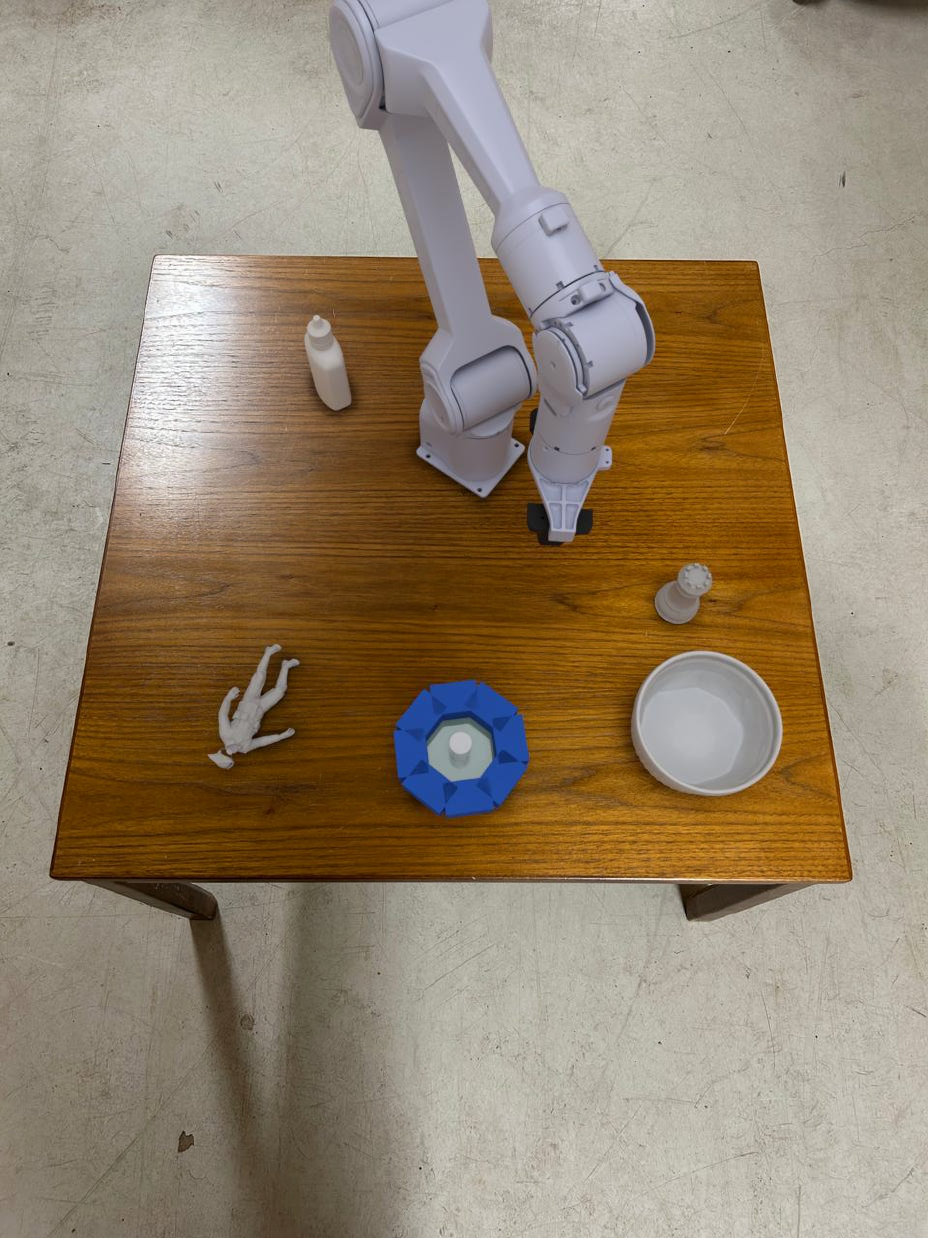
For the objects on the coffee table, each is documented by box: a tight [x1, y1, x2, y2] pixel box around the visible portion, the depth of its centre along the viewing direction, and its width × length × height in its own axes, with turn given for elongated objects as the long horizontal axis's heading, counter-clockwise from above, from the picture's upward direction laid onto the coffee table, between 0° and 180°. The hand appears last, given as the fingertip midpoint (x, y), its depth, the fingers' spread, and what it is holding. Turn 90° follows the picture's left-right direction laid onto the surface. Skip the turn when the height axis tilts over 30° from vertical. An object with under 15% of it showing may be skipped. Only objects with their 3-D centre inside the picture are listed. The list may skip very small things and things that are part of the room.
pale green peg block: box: [416, 717, 495, 801], centre depth 71 cm, size 8×8×8 cm
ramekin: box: [630, 650, 784, 797], centre depth 73 cm, size 13×13×7 cm
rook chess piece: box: [654, 562, 713, 625], centre depth 77 cm, size 4×4×8 cm
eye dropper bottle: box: [304, 314, 352, 412], centre depth 83 cm, size 4×6×12 cm
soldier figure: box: [207, 643, 301, 771], centre depth 74 cm, size 8×5×12 cm
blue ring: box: [392, 679, 531, 820], centre depth 70 cm, size 12×12×3 cm
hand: (550, 505), depth 74 cm, fingers open, 7 cm apart
